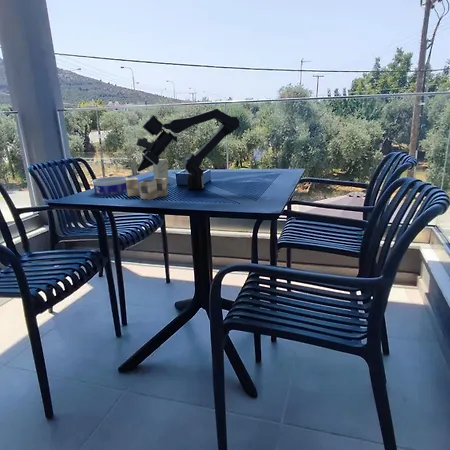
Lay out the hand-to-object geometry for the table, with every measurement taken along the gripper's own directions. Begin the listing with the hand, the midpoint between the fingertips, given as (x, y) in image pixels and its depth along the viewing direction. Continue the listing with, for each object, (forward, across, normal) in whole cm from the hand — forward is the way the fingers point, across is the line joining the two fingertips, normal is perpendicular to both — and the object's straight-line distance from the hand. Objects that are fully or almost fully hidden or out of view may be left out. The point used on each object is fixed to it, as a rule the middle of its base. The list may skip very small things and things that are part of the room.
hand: (137, 171), depth 154 cm
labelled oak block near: (+5, +10, +9) cm, 15 cm away
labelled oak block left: (+1, +7, +13) cm, 15 cm away
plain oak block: (+9, 0, +5) cm, 11 cm away
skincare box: (-1, -19, +16) cm, 25 cm away
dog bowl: (+16, -13, -1) cm, 20 cm away
